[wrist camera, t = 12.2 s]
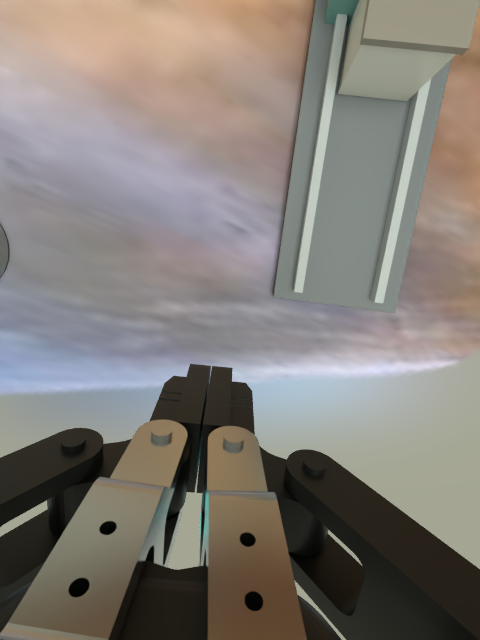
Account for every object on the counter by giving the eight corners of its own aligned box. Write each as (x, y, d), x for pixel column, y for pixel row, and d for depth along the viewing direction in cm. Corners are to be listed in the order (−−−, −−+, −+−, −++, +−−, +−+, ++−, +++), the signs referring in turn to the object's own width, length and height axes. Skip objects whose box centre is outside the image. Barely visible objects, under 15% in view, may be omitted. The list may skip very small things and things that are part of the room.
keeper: (334, 96, 32) (363, 38, 23) (346, 25, 31) (381, -69, 21) (408, 104, 32) (468, 48, 22) (423, 32, 31) (493, -59, 21)
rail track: (273, 294, 38) (274, 309, 31) (318, -25, 32) (334, -102, 24) (389, 309, 38) (419, 327, 30) (460, -12, 31) (519, -87, 24)
